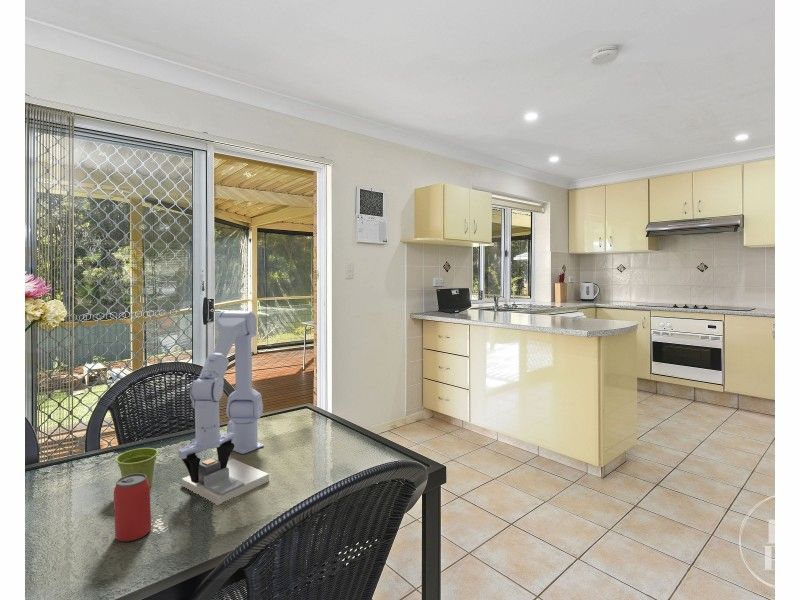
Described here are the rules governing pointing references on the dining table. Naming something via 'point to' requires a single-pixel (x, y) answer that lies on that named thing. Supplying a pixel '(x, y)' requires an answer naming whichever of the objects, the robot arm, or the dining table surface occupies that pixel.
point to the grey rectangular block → (208, 468)
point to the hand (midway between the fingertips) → (208, 476)
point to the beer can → (132, 507)
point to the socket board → (236, 471)
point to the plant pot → (138, 462)
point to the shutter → (221, 482)
